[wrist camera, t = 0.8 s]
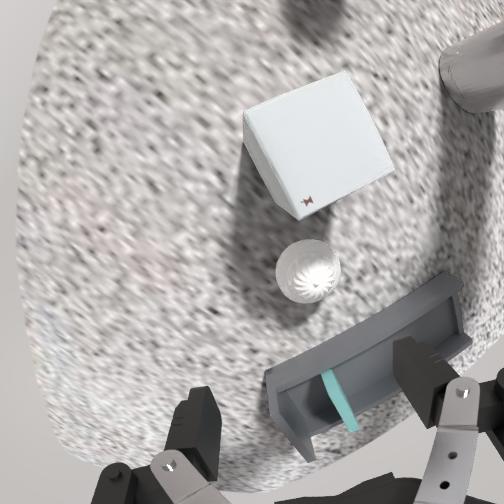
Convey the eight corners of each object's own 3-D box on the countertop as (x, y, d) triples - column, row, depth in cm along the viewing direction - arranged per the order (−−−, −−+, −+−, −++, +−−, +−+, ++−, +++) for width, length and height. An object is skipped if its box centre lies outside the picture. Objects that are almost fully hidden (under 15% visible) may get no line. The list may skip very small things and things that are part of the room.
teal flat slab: (325, 357, 33) (339, 388, 27) (346, 397, 35) (360, 428, 29) (316, 362, 33) (328, 394, 27) (338, 401, 35) (350, 433, 29)
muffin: (310, 299, 33) (326, 329, 26) (260, 273, 32) (265, 299, 25) (341, 250, 32) (365, 269, 25) (292, 220, 31) (306, 233, 24)
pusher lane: (444, 270, 33) (484, 292, 25) (456, 330, 35) (489, 357, 27) (264, 370, 35) (270, 416, 27) (298, 419, 37) (308, 463, 29)
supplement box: (340, 173, 30) (399, 174, 17) (274, 205, 30) (296, 225, 18) (307, 107, 28) (348, 67, 16) (240, 138, 29) (238, 111, 16)
